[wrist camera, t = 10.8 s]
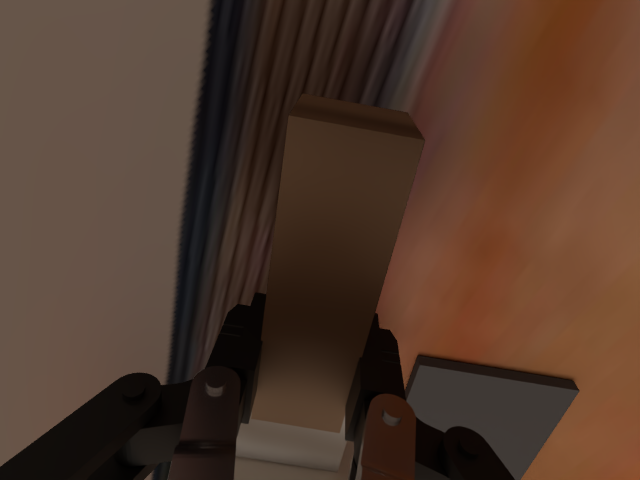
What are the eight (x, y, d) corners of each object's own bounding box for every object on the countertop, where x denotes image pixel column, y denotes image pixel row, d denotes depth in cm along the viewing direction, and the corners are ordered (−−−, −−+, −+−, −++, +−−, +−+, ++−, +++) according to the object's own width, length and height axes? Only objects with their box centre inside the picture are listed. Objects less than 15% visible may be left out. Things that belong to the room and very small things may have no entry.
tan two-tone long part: (274, 88, 11) (251, 108, 9) (435, 117, 11) (461, 146, 9) (238, 430, 19) (220, 498, 16) (337, 447, 19) (336, 517, 16)
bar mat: (573, 380, 26) (579, 390, 25) (469, 541, 35) (472, 552, 35) (418, 355, 26) (419, 365, 25) (356, 523, 35) (356, 534, 34)
